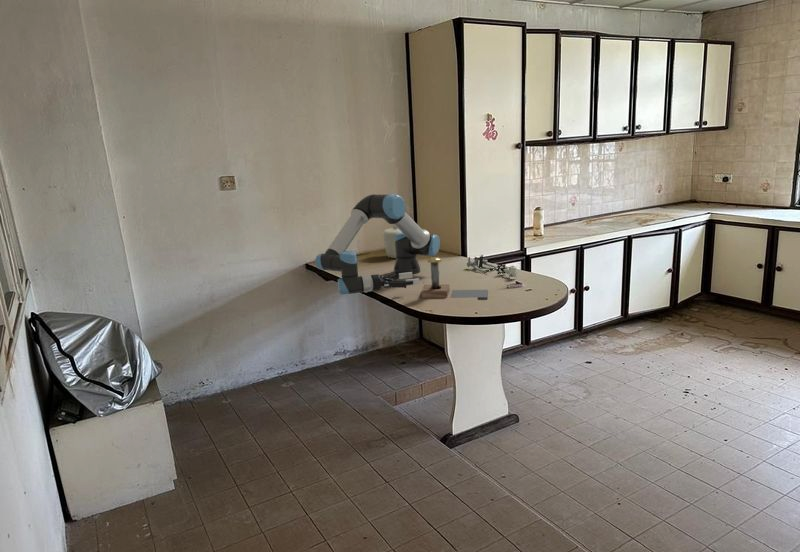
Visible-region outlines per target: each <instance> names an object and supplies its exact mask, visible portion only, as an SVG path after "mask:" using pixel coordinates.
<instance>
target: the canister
mask: <svg viewBox="0 0 800 552" xmlns="http://www.w3.org/2000/svg"><path fill="white" fill-rule="evenodd" d="M400 232H401V231H400V230H399V229H398V228H397V227H396V226H395V225H394V224H392V227H391V228H386V229H384V230H383V231H382V232H381V234H382V236H383V242H384V247H385V252H386V256H387V257H388V258H390V257H391V258H390V259H396V250H395V235H396V234H397V233H400Z"/></svg>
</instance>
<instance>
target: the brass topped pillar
mask: <svg viewBox="0 0 800 552" xmlns="http://www.w3.org/2000/svg"><path fill="white" fill-rule="evenodd" d="M440 262H442V258H441V257H437V256H436V257H433V256H432V257H428V258H427V263H430V274H431V275H430V278H431V285H432V289H439V285H440V271H439V263H440Z"/></svg>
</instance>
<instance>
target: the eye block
mask: <svg viewBox="0 0 800 552" xmlns="http://www.w3.org/2000/svg"><path fill="white" fill-rule="evenodd" d="M449 293H450V283H449V284H439V289H432V284H424V286H423V287H422V290H421V298H422V299H423V298H426V299H427V298H432V299H433V298H448V297H449Z"/></svg>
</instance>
